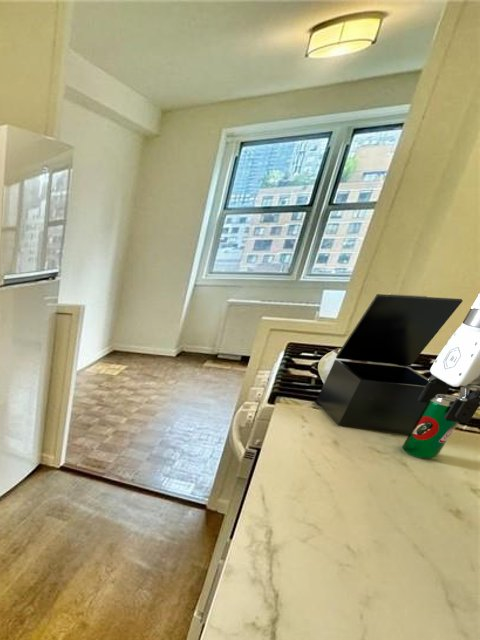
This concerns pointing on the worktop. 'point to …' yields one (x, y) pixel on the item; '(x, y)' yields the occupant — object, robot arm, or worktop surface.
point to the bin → (373, 396)
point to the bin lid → (397, 328)
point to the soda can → (431, 428)
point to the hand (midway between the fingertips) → (441, 411)
